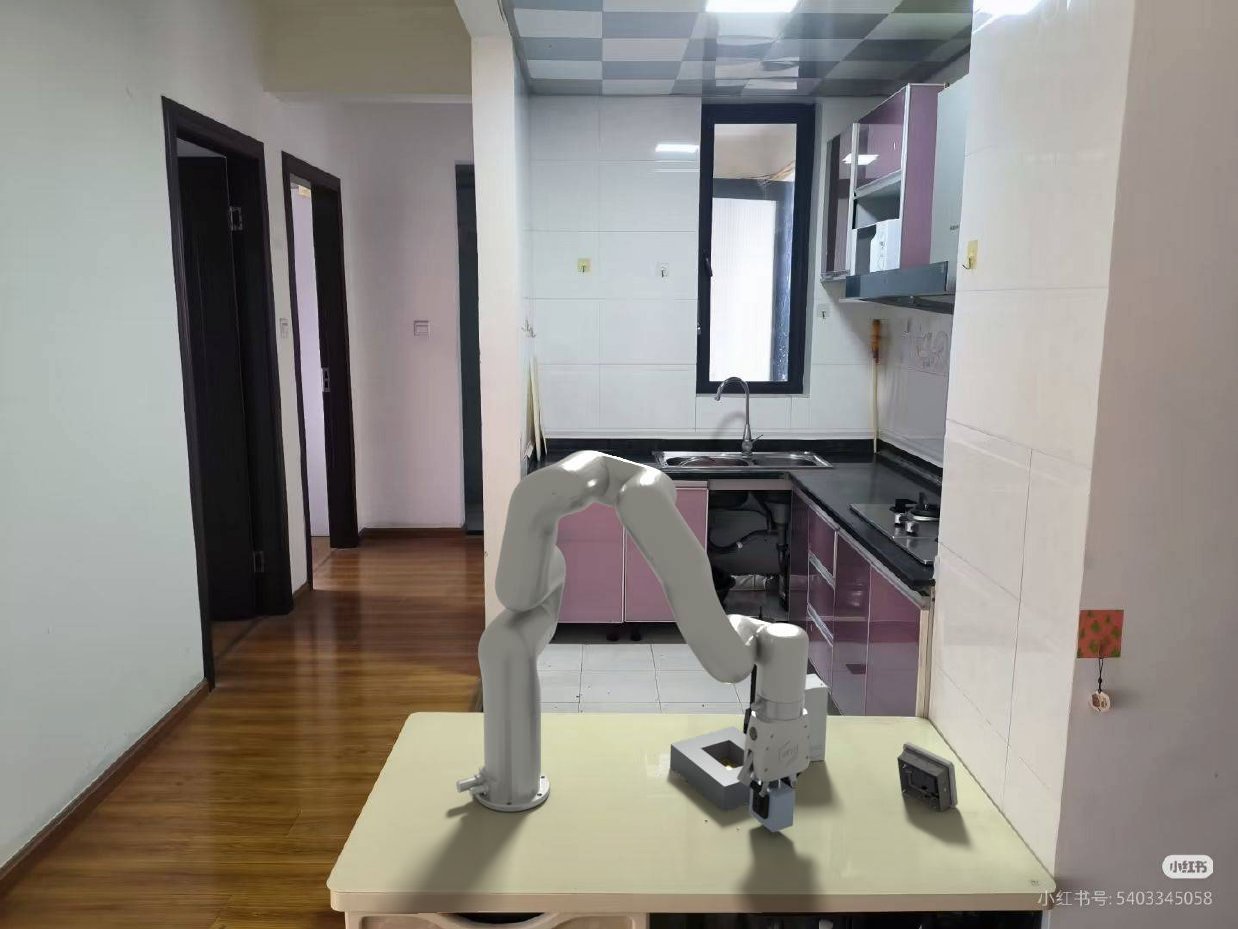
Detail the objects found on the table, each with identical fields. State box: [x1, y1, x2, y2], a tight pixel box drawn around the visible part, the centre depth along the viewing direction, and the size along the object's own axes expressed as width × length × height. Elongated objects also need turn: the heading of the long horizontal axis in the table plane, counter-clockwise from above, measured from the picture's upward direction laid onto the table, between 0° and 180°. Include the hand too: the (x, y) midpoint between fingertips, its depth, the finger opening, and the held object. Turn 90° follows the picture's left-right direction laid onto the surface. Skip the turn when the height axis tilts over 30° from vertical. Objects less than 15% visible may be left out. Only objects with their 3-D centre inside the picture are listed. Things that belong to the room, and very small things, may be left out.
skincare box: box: [804, 673, 829, 762], centre depth 165 cm, size 8×6×15 cm
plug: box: [748, 779, 796, 833], centre depth 143 cm, size 4×6×7 cm, turn 31°
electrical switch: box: [896, 741, 959, 814], centre depth 152 cm, size 9×5×9 cm, turn 38°
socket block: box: [669, 726, 781, 812], centre depth 159 cm, size 14×16×4 cm
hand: (771, 809), depth 143 cm, fingers closed on plug, 4 cm apart
